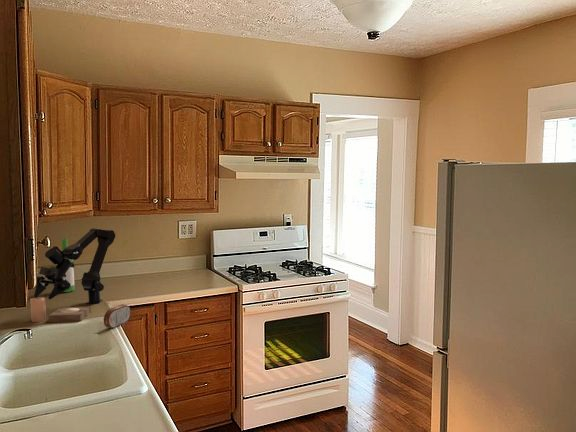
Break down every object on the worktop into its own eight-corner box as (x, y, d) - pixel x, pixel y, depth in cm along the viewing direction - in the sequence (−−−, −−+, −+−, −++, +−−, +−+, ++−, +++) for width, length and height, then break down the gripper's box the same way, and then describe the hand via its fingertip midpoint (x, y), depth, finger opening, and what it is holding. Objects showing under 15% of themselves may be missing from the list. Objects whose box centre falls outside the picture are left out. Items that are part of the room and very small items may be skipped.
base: (61, 313, 239) (60, 306, 239) (91, 312, 240) (90, 306, 240) (48, 322, 225) (48, 315, 225) (80, 321, 226) (80, 314, 226)
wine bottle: (77, 290, 287) (74, 238, 285) (67, 293, 280) (64, 240, 278) (67, 289, 290) (64, 237, 288) (56, 292, 283) (53, 239, 281)
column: (35, 318, 232) (33, 297, 231) (48, 318, 232) (47, 296, 231) (29, 322, 226) (27, 300, 225) (42, 321, 226) (41, 300, 225)
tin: (126, 320, 226) (126, 301, 226) (132, 320, 225) (131, 302, 225) (103, 330, 213) (102, 310, 212) (109, 330, 211) (108, 311, 211)
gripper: (35, 259, 238) (15, 286, 228) (64, 261, 230) (45, 290, 221) (50, 272, 245) (31, 299, 236) (78, 275, 238) (60, 303, 228)
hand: (41, 298), depth 230 cm, fingers open, 9 cm apart
